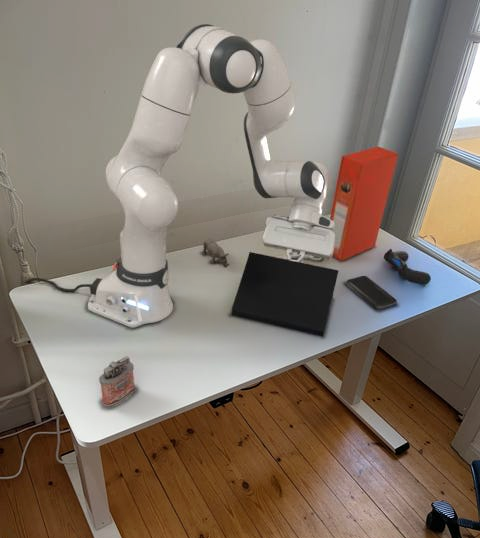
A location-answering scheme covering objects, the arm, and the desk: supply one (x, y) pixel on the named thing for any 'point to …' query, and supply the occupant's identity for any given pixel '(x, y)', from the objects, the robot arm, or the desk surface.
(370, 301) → the phone
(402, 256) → the gaming controller
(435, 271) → the desk surface
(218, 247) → the rhino figurine
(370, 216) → the file binder
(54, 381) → the desk surface
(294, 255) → the scissors
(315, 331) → the laptop
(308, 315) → the laptop screen
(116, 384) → the lighter
